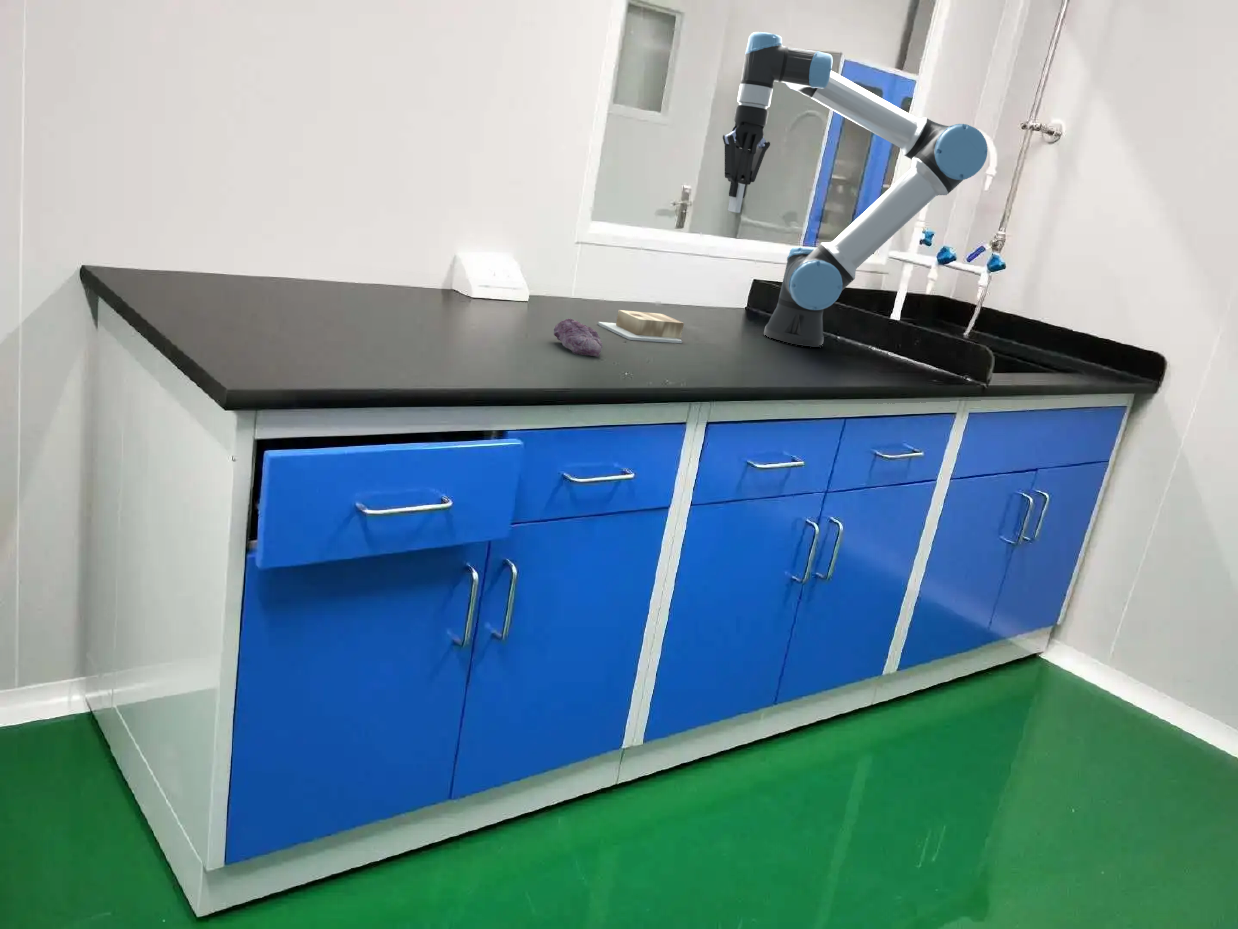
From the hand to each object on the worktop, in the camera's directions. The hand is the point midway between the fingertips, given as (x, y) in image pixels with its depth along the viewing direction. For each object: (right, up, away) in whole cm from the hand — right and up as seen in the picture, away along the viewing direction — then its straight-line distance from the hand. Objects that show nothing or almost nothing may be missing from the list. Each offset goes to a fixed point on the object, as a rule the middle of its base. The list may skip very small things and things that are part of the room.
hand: (733, 211), depth 237 cm
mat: (-22, -30, -10) cm, 38 cm away
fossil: (-35, -37, -38) cm, 64 cm away
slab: (-15, -28, -6) cm, 32 cm away
